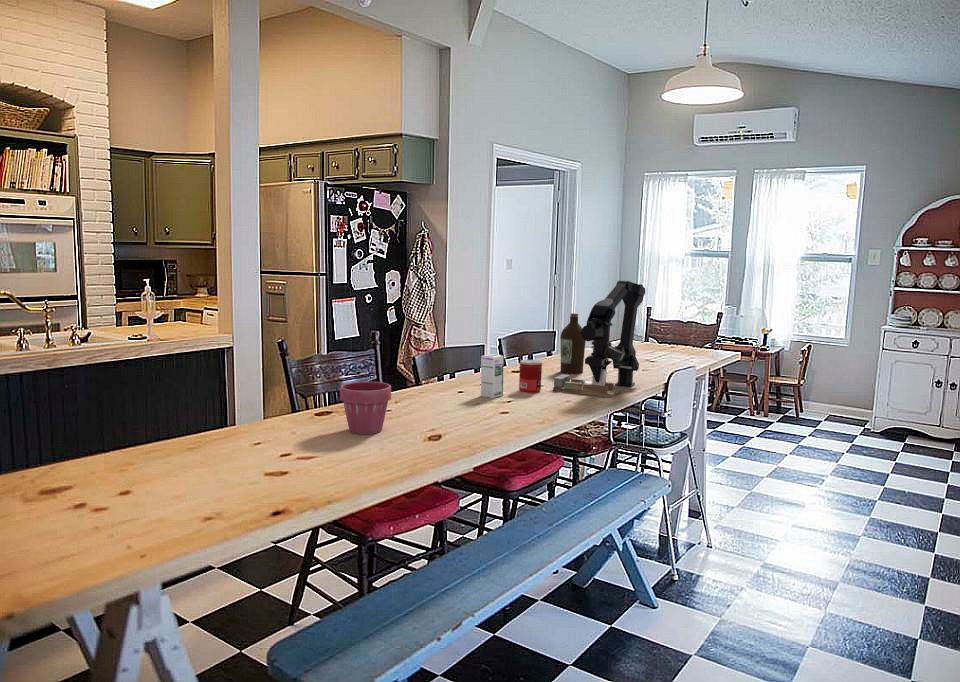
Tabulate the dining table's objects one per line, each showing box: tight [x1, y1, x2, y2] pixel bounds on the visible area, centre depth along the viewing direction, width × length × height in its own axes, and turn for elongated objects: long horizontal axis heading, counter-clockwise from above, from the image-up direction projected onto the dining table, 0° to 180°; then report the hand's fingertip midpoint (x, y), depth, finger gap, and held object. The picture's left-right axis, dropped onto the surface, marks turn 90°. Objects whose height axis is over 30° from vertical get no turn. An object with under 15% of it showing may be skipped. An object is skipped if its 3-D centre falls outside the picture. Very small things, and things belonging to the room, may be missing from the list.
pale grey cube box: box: [580, 369, 608, 386], centre depth 262 cm, size 7×8×7 cm
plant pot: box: [339, 381, 392, 435], centre depth 200 cm, size 14×14×13 cm
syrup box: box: [480, 353, 504, 399], centre depth 250 cm, size 6×6×14 cm
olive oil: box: [559, 312, 587, 375], centre depth 303 cm, size 11×11×25 cm
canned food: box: [518, 359, 543, 394], centre depth 262 cm, size 8×8×11 cm
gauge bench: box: [552, 373, 620, 398], centre depth 264 cm, size 11×22×4 cm, turn 64°
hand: (599, 381), depth 262 cm, fingers closed on pale grey cube box, 4 cm apart
